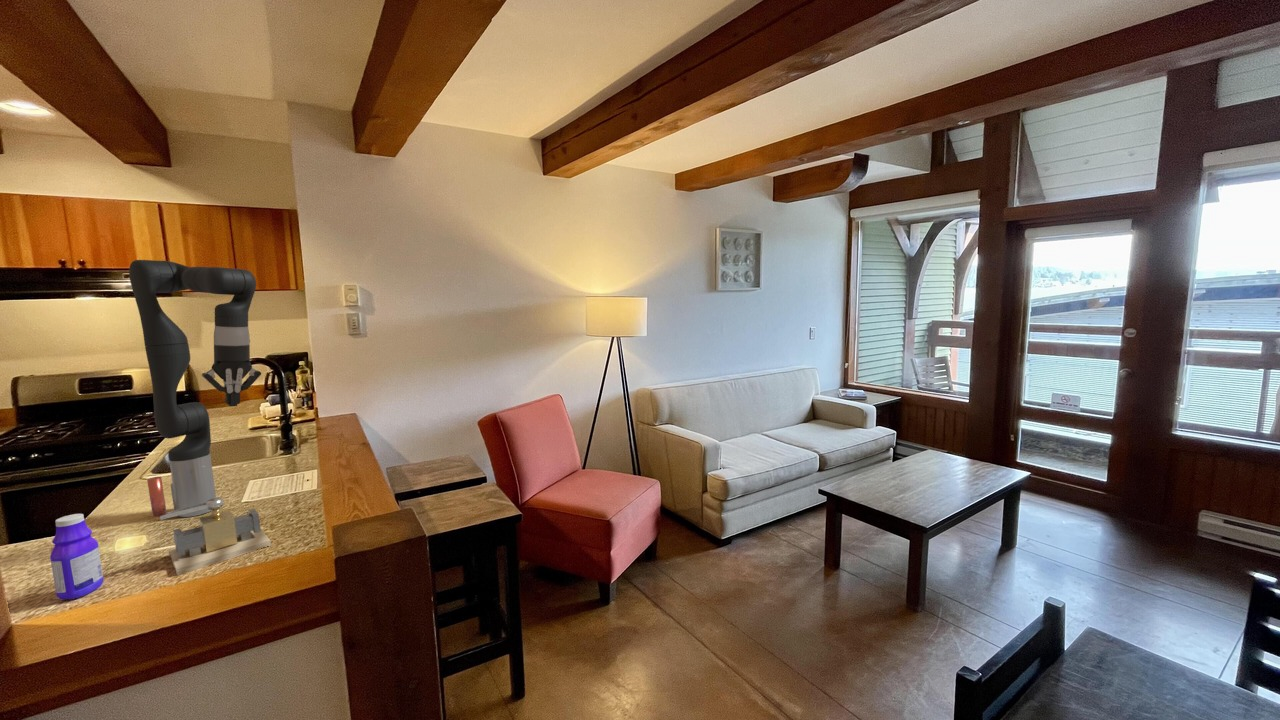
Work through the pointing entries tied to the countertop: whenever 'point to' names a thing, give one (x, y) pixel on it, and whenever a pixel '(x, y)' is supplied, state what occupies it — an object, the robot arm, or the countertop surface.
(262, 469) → the countertop surface
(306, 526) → the countertop surface
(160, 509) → the valve lever
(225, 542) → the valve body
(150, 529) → the countertop surface
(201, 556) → the valve board
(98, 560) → the bottle
